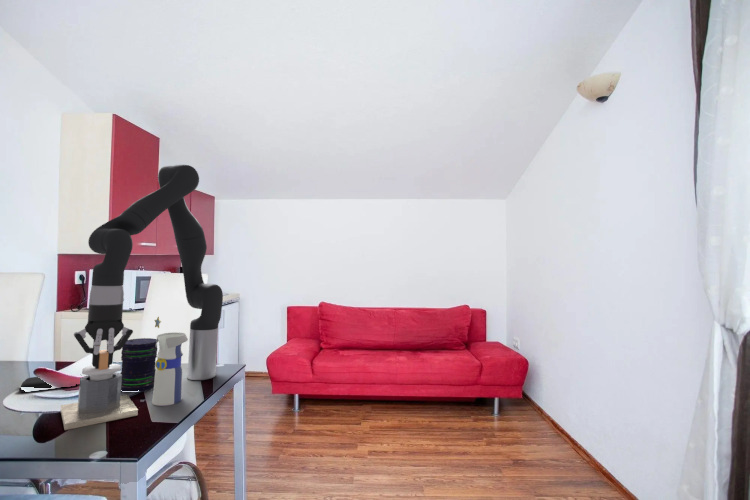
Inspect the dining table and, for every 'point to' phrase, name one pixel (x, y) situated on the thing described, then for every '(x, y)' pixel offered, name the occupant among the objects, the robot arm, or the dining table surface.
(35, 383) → the carrying case or bag
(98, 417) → the grey container on board
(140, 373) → the storage jar
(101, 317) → the robot arm
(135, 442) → the dining table surface
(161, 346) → the white plastic tall bottle
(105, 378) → the white lid with handle
